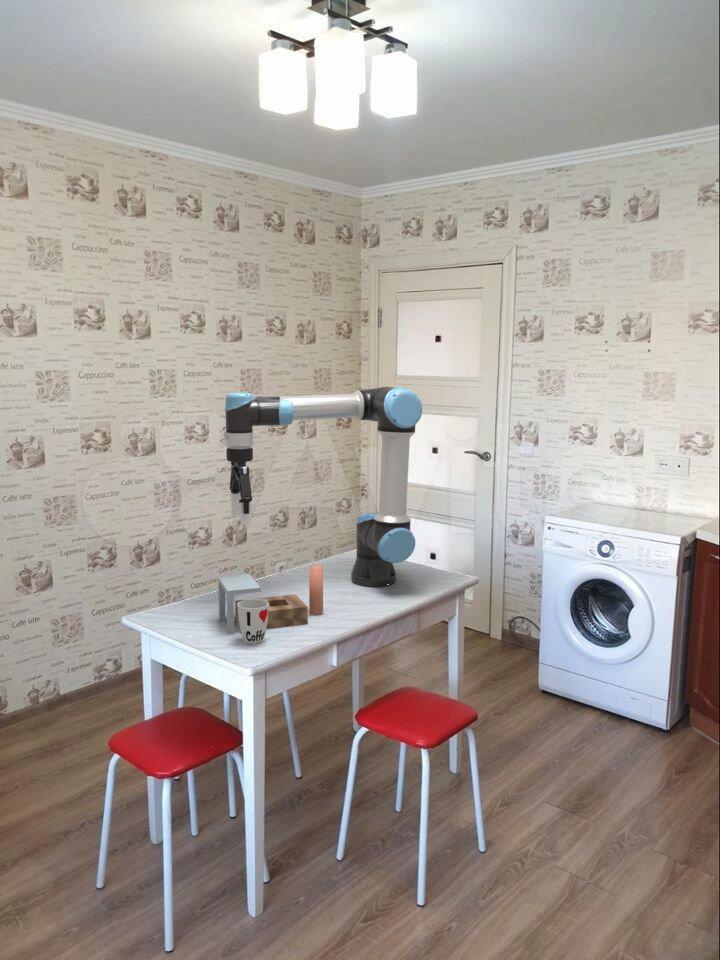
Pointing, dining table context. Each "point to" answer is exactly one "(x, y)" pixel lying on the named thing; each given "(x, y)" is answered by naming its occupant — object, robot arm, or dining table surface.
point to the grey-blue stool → (233, 587)
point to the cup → (253, 619)
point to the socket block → (283, 611)
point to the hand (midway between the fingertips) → (240, 519)
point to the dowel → (316, 589)
